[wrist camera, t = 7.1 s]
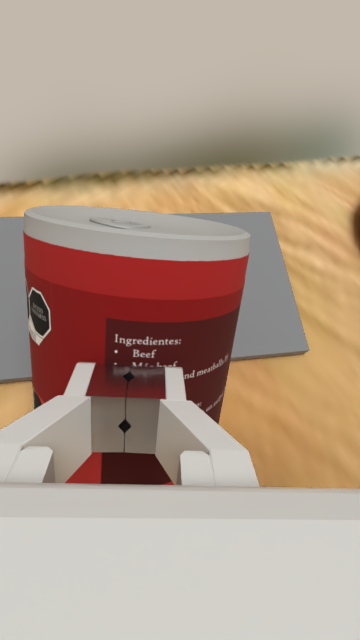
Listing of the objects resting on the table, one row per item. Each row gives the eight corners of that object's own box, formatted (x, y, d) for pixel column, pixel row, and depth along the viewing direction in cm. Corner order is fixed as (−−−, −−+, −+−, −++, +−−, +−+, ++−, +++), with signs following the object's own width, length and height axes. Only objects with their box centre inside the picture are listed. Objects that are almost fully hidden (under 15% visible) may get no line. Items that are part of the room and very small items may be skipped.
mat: (303, 353, 22) (309, 350, 21) (-64, 389, 19) (-72, 386, 18) (266, 218, 26) (270, 212, 26) (-42, 226, 23) (-48, 218, 22)
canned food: (94, 394, 20) (97, 204, 16) (223, 432, 18) (262, 226, 14) (-7, 492, 14) (-43, 206, 10) (182, 570, 12) (235, 248, 8)
